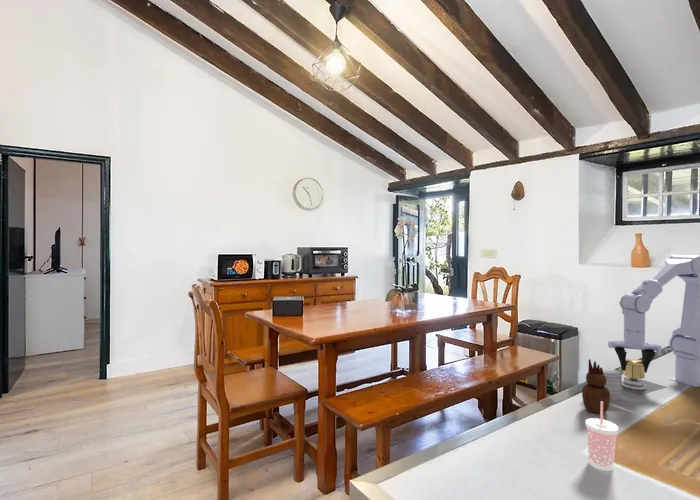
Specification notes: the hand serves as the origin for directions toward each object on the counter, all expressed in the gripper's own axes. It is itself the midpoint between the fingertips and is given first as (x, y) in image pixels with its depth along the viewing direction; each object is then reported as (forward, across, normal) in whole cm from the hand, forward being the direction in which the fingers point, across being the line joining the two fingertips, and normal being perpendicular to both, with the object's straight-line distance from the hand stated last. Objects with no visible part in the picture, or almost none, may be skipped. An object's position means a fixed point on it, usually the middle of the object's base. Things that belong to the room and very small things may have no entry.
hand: (633, 370), depth 132 cm
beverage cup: (+6, -22, -56) cm, 60 cm away
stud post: (+5, 0, 0) cm, 5 cm away
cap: (+2, 0, 0) cm, 2 cm away
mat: (+6, +1, +1) cm, 6 cm away
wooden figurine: (+6, -16, -25) cm, 30 cm away
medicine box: (+6, -11, -13) cm, 18 cm away
